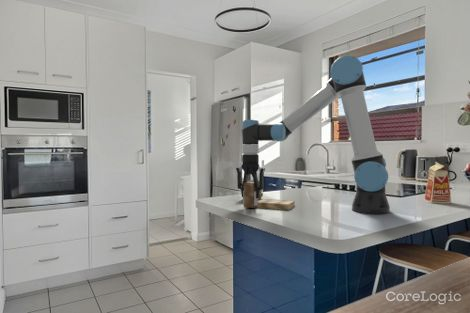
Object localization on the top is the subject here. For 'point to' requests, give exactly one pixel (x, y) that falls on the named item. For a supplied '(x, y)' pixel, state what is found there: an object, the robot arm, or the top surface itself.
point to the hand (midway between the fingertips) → (250, 204)
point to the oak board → (275, 204)
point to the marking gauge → (249, 194)
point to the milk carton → (438, 185)
